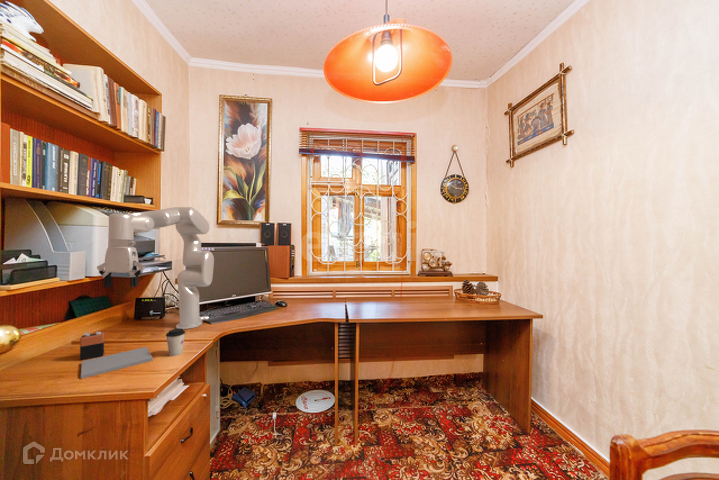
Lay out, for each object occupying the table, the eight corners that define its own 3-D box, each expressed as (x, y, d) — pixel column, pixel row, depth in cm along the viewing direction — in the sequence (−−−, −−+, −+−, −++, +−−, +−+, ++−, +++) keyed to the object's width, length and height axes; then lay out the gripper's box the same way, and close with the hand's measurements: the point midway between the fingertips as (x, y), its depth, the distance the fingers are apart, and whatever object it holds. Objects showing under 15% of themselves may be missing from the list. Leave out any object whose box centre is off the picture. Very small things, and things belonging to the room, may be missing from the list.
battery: (81, 357, 111) (81, 333, 111) (104, 352, 115) (104, 329, 115) (79, 361, 107) (79, 336, 107) (103, 356, 112) (103, 332, 112)
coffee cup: (164, 358, 110) (164, 334, 110) (166, 352, 116) (166, 329, 116) (185, 355, 113) (185, 331, 113) (185, 349, 119) (185, 326, 119)
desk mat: (146, 349, 119) (146, 346, 119) (152, 360, 108) (152, 357, 108) (81, 363, 105) (81, 361, 105) (80, 378, 94) (80, 375, 94)
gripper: (150, 244, 113) (150, 285, 112) (106, 244, 111) (106, 285, 111) (137, 244, 105) (137, 288, 105) (89, 244, 104) (89, 288, 104)
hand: (121, 286), depth 108 cm, fingers open, 9 cm apart
